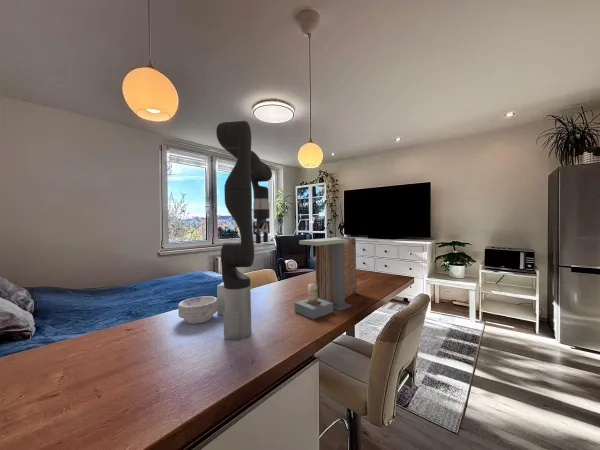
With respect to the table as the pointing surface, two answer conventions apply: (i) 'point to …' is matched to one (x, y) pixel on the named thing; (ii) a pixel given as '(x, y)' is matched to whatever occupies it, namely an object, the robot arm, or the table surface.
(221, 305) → the supplement box
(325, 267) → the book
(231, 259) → the robot arm
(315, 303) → the peg
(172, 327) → the table surface
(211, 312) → the paper bowls
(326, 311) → the socket
